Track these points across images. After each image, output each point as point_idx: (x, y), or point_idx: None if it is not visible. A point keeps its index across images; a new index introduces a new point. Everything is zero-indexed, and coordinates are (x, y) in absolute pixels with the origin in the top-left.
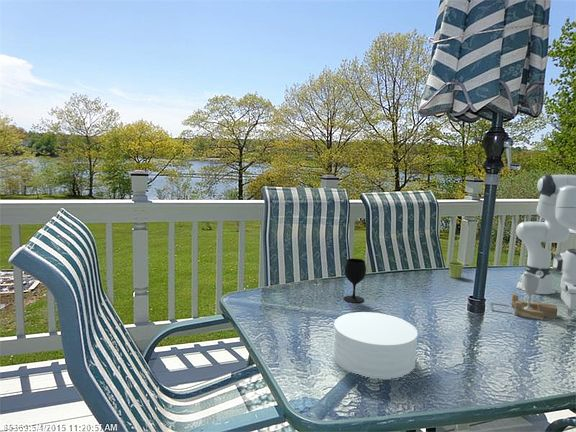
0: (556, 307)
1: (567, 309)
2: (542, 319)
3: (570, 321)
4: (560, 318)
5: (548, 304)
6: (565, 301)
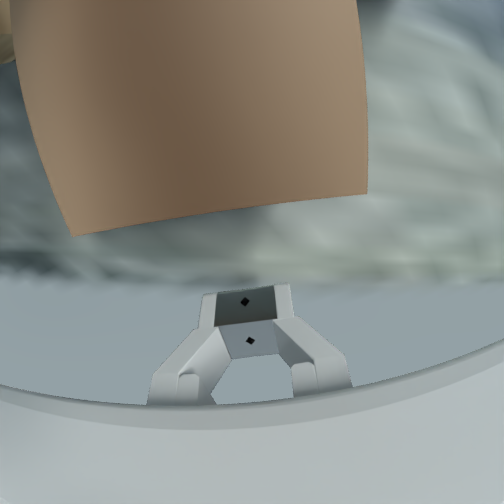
0: (133, 218)
1: (198, 347)
2: (8, 58)
3: (167, 279)
4: None
5: (271, 37)
6: (229, 448)
